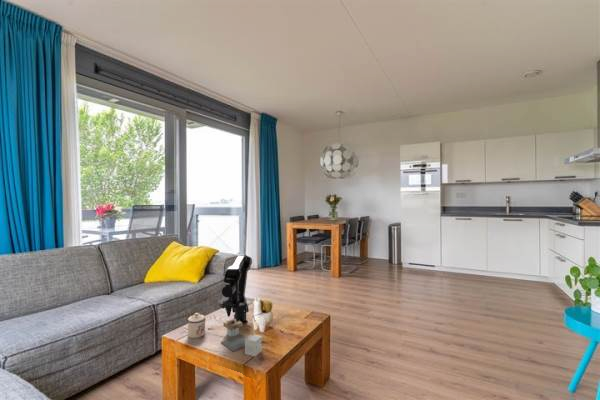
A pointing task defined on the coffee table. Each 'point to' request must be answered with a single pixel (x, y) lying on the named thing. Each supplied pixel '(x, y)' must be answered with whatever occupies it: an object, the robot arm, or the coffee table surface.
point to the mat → (235, 342)
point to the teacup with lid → (196, 326)
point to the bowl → (233, 332)
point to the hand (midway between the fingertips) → (233, 319)
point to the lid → (233, 324)
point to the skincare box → (253, 345)
